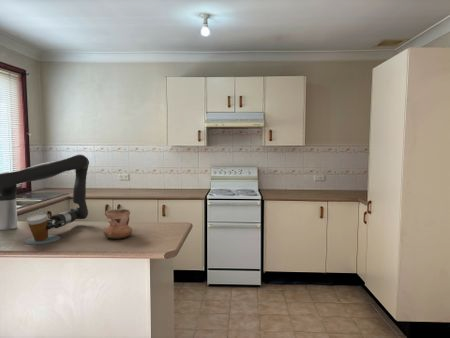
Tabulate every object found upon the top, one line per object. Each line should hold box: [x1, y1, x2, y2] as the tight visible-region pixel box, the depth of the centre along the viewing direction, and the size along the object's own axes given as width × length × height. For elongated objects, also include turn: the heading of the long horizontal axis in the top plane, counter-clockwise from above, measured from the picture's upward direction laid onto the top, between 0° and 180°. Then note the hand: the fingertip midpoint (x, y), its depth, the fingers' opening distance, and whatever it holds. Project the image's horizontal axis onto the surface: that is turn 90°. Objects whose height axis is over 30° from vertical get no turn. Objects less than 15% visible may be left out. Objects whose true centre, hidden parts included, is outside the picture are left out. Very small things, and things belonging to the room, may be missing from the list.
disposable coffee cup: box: [26, 213, 49, 241], centre depth 167 cm, size 10×10×12 cm
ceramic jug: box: [103, 208, 133, 240], centre depth 174 cm, size 18×14×14 cm
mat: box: [24, 234, 61, 246], centre depth 169 cm, size 16×16×1 cm
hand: (39, 227), depth 167 cm, fingers closed on disposable coffee cup, 8 cm apart
